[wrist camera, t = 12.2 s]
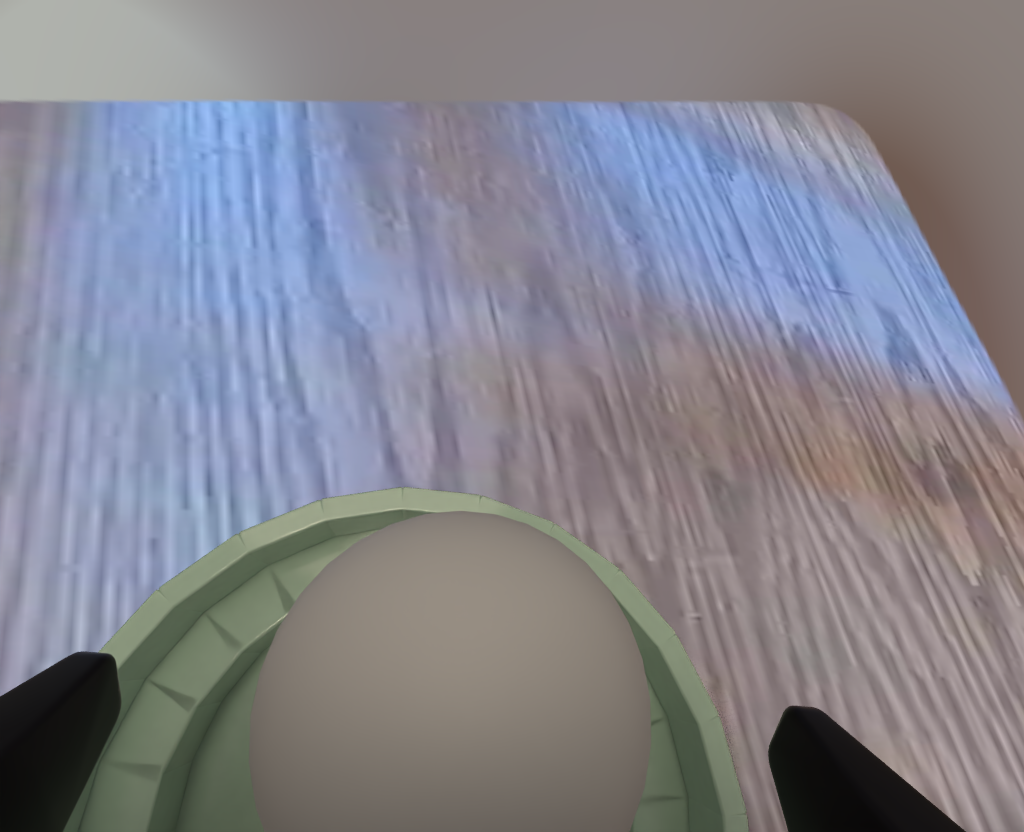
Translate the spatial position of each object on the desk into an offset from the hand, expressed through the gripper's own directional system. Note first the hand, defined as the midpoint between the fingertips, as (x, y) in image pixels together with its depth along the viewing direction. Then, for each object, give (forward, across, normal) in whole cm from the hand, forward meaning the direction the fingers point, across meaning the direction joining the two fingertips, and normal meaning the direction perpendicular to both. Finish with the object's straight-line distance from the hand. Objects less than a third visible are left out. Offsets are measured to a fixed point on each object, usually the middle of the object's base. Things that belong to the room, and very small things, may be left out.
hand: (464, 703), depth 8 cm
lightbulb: (+7, 0, +7) cm, 10 cm away
